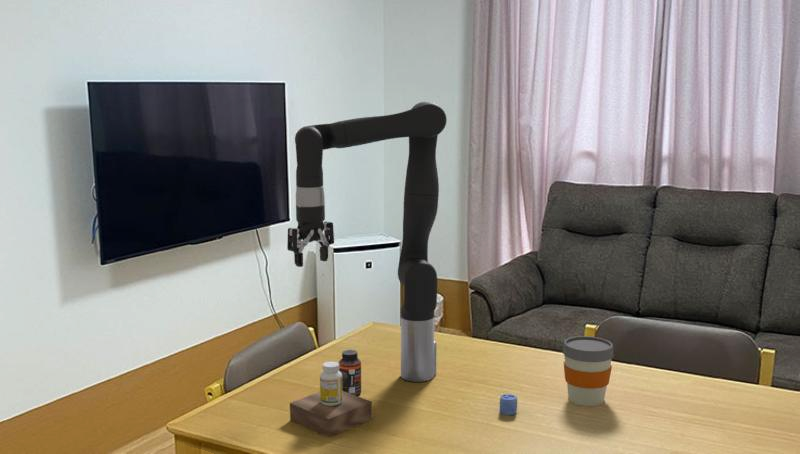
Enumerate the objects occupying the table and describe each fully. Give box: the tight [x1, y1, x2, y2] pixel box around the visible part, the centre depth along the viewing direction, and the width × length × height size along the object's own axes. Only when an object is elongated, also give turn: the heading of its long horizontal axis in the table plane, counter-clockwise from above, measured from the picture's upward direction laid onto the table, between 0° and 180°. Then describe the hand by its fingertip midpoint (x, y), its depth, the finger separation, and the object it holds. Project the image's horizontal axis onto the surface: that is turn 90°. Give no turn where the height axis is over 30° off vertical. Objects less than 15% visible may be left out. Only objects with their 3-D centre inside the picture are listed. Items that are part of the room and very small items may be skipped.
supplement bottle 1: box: [319, 361, 342, 406], centre depth 200 cm, size 5×5×10 cm
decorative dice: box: [499, 393, 518, 416], centre depth 206 cm, size 4×4×4 cm
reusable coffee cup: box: [562, 335, 614, 407], centre depth 212 cm, size 12×13×15 cm
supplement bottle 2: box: [338, 349, 362, 396], centre depth 217 cm, size 6×6×11 cm
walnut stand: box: [289, 391, 373, 438], centre depth 201 cm, size 14×14×4 cm
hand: (311, 263), depth 220 cm, fingers open, 8 cm apart
